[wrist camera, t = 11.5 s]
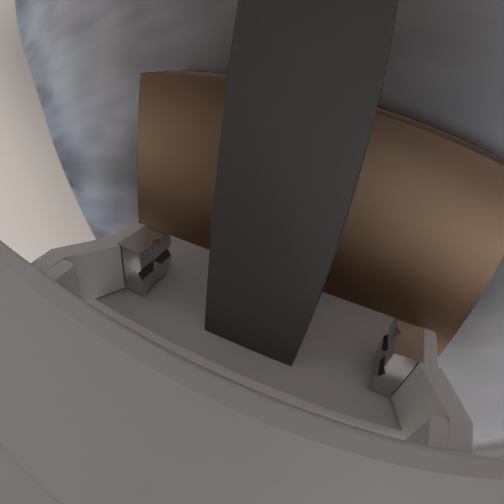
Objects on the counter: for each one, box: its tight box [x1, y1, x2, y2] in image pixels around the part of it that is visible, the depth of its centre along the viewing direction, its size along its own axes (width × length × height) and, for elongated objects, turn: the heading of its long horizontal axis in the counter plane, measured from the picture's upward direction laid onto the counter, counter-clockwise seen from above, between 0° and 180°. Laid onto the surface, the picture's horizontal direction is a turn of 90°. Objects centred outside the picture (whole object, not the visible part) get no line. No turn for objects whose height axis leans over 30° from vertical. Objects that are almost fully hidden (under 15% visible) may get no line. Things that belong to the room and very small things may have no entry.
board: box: [138, 70, 504, 356], centre depth 13 cm, size 12×15×3 cm
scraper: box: [88, 0, 414, 440], centre depth 8 cm, size 12×12×5 cm
